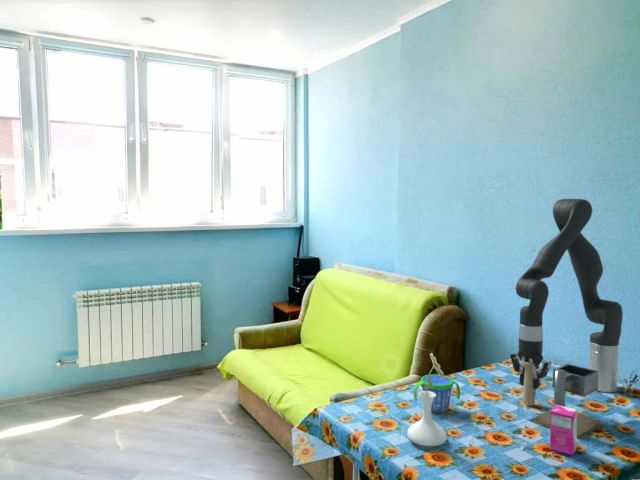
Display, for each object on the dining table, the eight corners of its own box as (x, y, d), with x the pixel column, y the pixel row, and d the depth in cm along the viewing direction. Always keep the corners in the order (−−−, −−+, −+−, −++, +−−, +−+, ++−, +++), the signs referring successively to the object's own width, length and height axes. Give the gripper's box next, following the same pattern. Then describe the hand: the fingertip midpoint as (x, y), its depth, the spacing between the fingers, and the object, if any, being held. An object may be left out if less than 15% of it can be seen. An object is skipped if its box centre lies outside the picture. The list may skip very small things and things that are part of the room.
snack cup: (416, 415, 154) (416, 385, 153) (410, 402, 164) (410, 374, 164) (464, 415, 154) (465, 385, 153) (455, 402, 164) (456, 374, 164)
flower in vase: (439, 454, 129) (441, 364, 128) (400, 443, 135) (401, 357, 134) (453, 435, 140) (455, 352, 139) (417, 426, 147) (417, 346, 145)
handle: (541, 405, 162) (542, 362, 161) (528, 408, 159) (529, 364, 158) (530, 400, 166) (531, 358, 165) (516, 403, 163) (517, 360, 162)
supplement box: (554, 442, 136) (555, 403, 135) (577, 449, 132) (578, 409, 131) (548, 450, 131) (550, 410, 131) (572, 457, 128) (573, 416, 127)
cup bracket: (559, 408, 159) (560, 356, 158) (604, 423, 148) (606, 366, 147) (533, 422, 149) (534, 366, 148) (579, 439, 138) (581, 378, 137)
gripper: (557, 340, 158) (555, 390, 159) (517, 331, 169) (516, 378, 170) (545, 343, 153) (544, 395, 154) (505, 334, 164) (504, 383, 166)
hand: (529, 386), depth 162 cm, fingers closed on handle, 4 cm apart
